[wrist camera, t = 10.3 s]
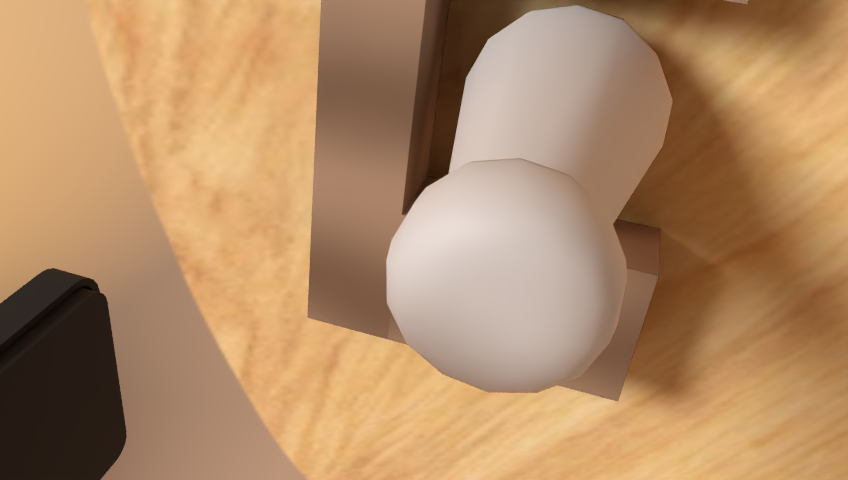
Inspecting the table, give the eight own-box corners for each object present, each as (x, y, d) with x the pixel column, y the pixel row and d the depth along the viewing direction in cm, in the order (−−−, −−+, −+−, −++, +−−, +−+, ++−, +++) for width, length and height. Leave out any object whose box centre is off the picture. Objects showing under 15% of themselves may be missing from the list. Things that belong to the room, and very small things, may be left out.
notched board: (375, -283, 21) (334, -295, 18) (804, -231, 19) (825, -236, 16) (338, 274, 30) (307, 317, 27) (622, 347, 28) (617, 401, 26)
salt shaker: (704, 25, 22) (740, 241, 11) (627, 194, 25) (597, 493, 14) (510, -38, 23) (366, 109, 12) (458, 135, 26) (305, 378, 15)
